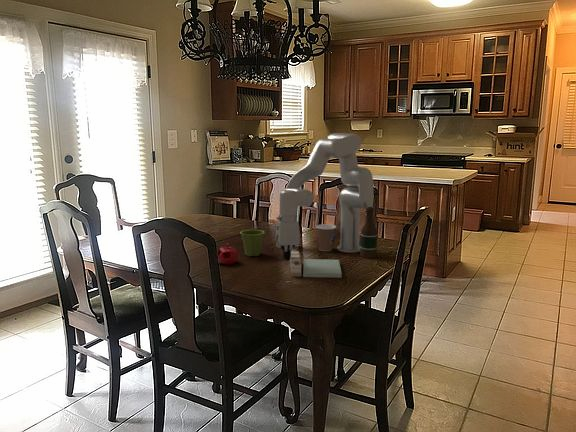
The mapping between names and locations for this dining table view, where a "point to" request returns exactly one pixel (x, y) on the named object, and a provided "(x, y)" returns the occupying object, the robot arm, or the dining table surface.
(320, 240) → the coffee cup
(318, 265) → the pale green flat slab
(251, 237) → the plant pot
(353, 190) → the robot arm
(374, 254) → the beer bottle
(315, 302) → the dining table surface
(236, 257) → the pomegranate
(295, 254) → the beige patterned long block
